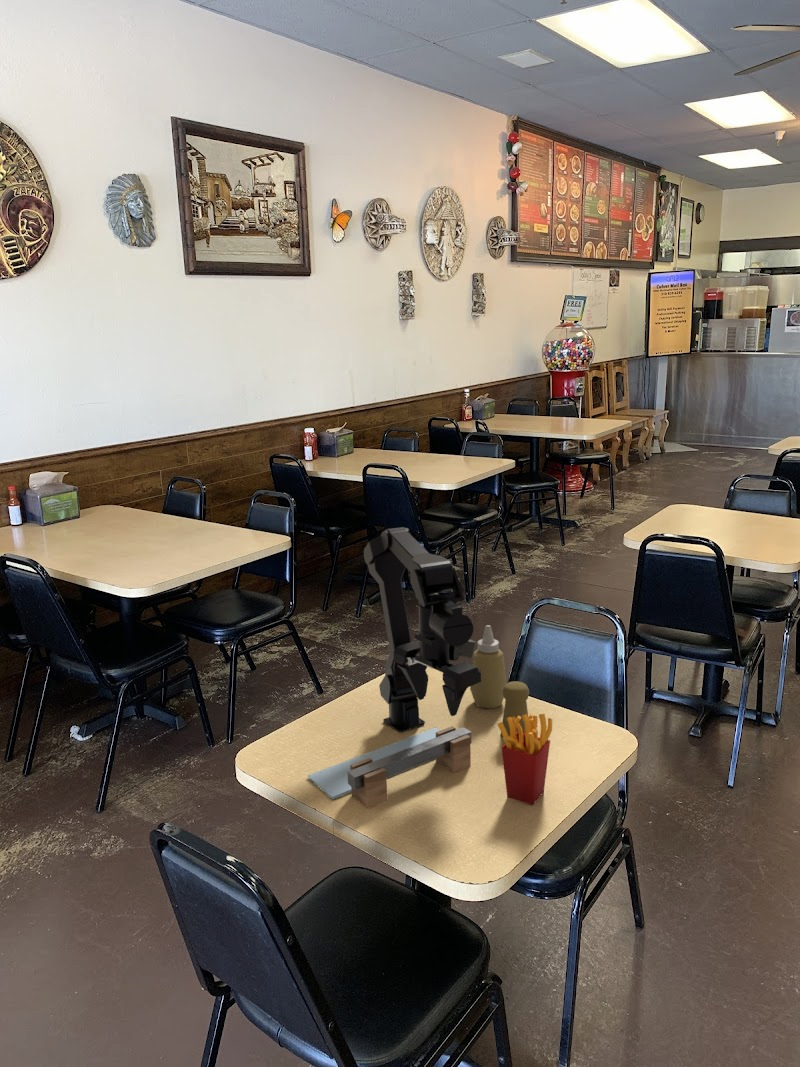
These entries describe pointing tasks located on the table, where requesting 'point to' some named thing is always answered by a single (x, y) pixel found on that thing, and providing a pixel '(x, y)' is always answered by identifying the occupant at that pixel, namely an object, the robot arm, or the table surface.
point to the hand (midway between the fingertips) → (437, 707)
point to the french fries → (525, 757)
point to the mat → (337, 776)
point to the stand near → (371, 786)
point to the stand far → (456, 752)
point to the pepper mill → (515, 703)
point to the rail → (407, 757)
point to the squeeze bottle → (489, 672)
